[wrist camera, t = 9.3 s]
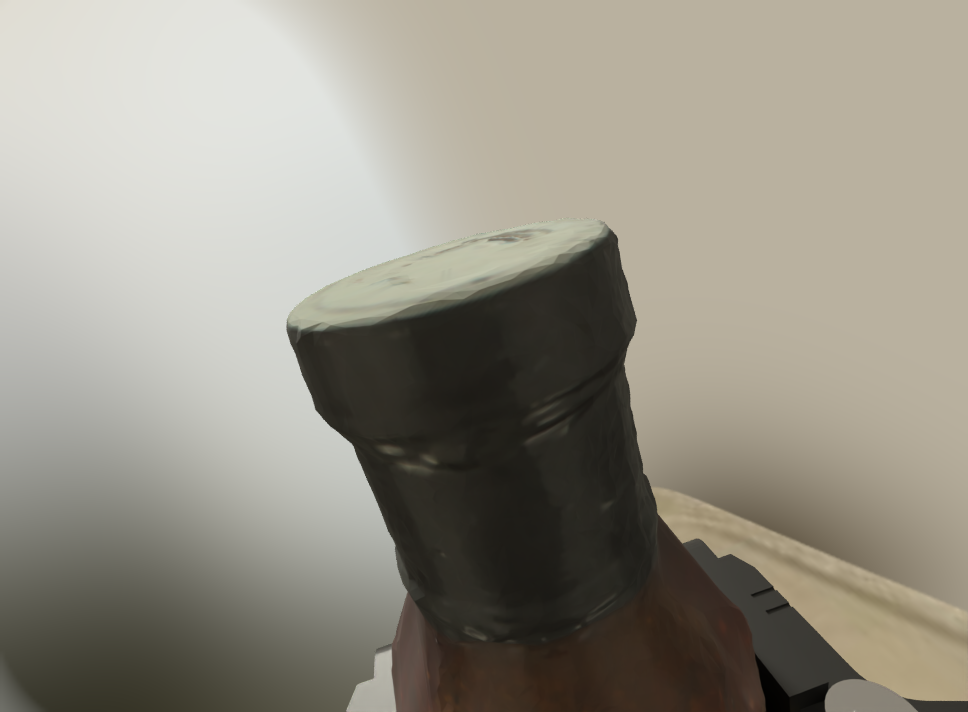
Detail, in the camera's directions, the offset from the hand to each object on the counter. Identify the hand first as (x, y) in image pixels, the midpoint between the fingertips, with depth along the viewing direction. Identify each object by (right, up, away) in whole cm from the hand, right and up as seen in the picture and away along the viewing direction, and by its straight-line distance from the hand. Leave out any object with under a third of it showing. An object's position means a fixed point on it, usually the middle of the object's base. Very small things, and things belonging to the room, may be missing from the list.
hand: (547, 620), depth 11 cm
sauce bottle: (+3, -11, +2) cm, 11 cm away
